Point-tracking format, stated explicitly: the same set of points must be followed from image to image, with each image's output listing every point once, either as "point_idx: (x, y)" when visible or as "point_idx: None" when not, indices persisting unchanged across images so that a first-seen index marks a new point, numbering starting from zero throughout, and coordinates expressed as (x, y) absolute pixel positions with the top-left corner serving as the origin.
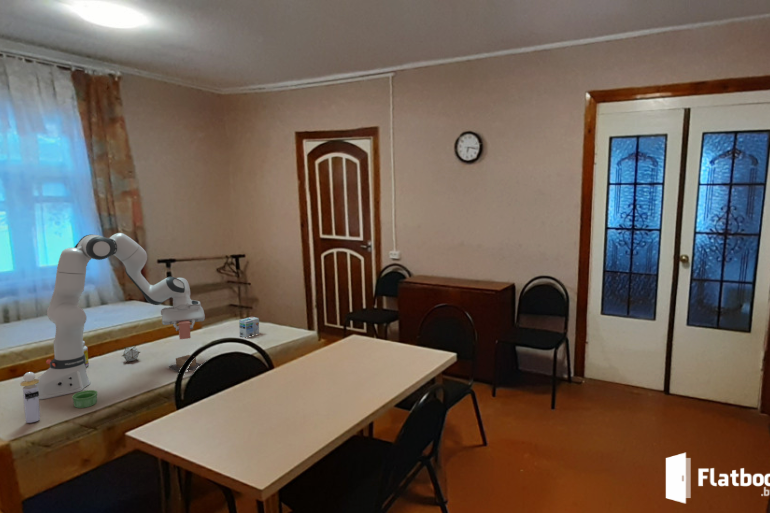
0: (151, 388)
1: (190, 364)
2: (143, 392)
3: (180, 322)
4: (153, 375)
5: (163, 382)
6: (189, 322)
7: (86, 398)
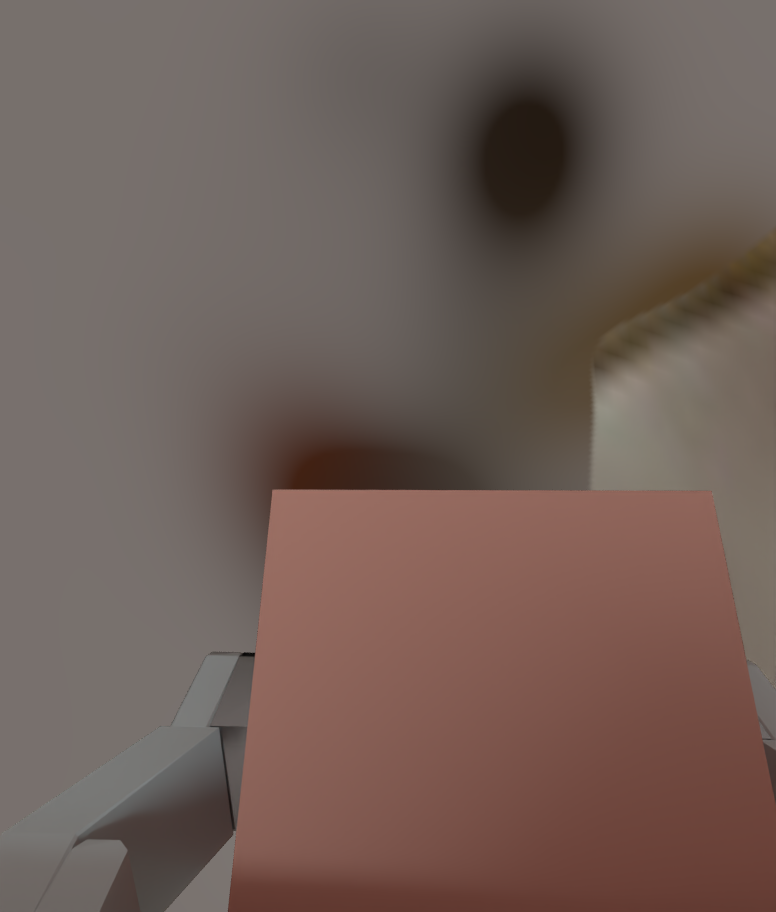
0: (721, 334)
1: None
2: (767, 285)
3: (679, 733)
4: (772, 637)
5: (643, 417)
6: (279, 550)
7: None
